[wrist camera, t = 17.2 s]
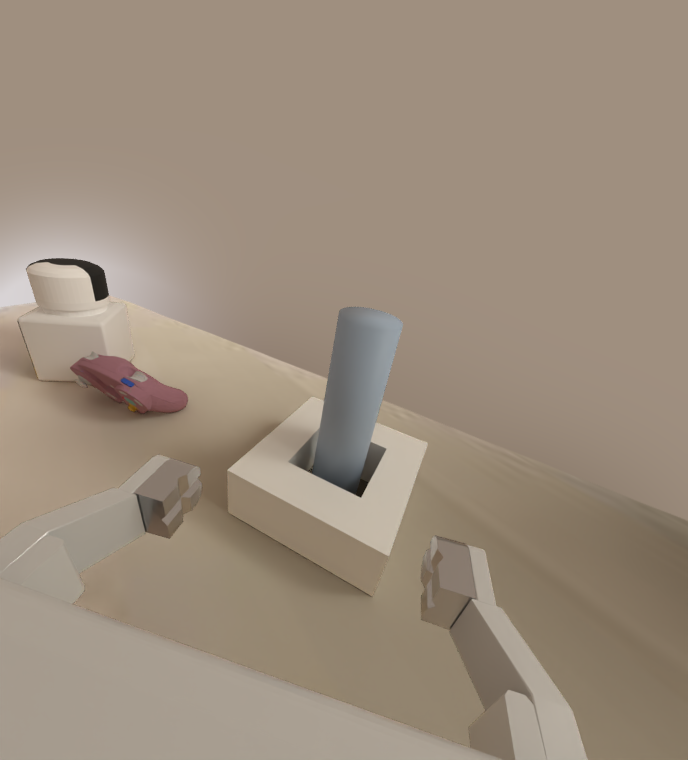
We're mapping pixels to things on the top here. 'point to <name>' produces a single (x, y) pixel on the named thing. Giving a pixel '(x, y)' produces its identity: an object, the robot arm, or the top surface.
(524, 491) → the top surface
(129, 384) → the video game controller
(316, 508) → the socket block
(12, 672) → the robot arm
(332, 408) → the peg
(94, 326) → the medicine bottle
